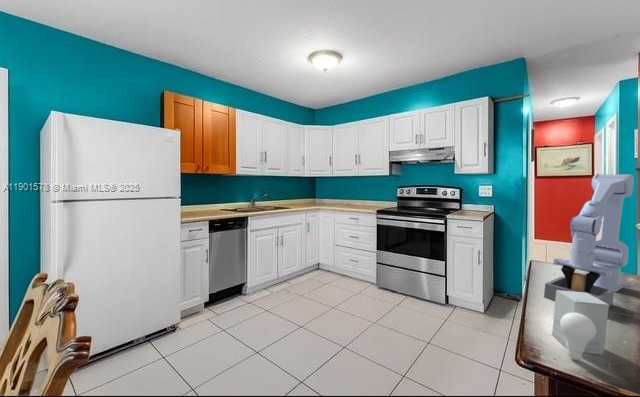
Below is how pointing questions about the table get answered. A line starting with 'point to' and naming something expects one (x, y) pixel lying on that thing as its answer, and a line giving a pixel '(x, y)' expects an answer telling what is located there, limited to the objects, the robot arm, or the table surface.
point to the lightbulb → (577, 333)
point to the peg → (578, 282)
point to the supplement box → (586, 307)
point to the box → (561, 285)
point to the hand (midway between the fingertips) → (578, 290)
